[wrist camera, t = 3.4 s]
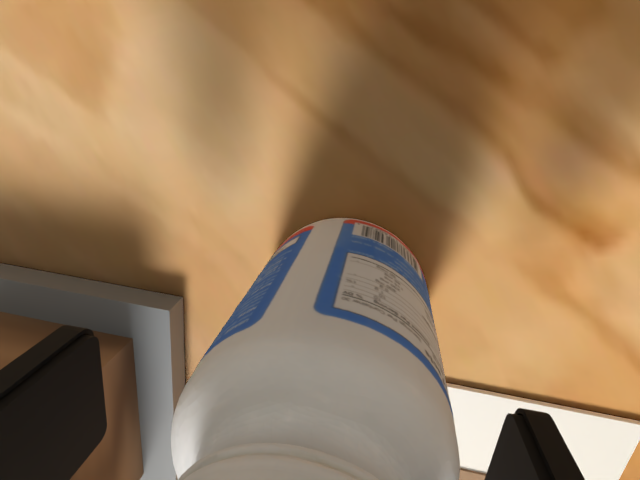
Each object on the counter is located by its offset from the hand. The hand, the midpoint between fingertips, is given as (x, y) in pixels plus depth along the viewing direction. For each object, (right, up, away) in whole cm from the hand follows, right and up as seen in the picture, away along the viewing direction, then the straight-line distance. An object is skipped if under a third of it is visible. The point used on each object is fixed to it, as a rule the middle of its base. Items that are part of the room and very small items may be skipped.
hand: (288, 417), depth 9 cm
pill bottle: (+2, +2, +5) cm, 6 cm away
